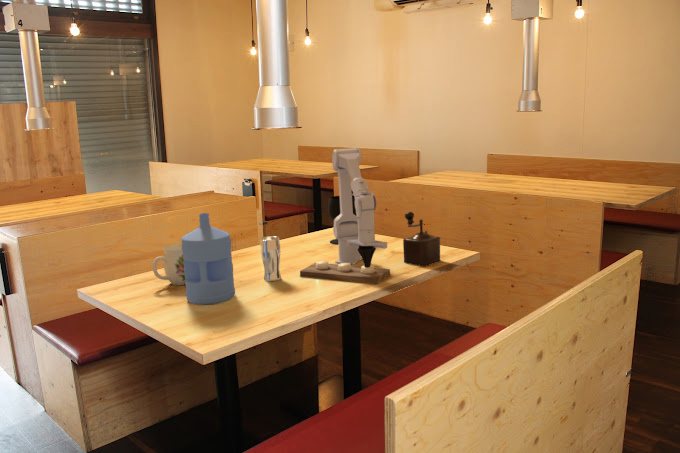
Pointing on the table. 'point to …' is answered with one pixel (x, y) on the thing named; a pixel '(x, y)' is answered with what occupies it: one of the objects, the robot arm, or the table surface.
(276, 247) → the beer glass
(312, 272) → the wooden board with recesses
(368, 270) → the knob
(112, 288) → the table surface
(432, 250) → the manual coffee grinder
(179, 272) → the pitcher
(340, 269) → the knob
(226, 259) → the water jug
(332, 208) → the wine glass
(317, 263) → the knob
